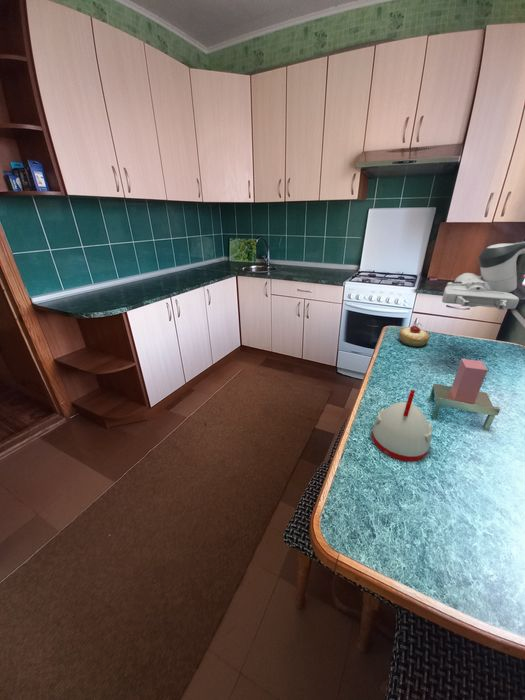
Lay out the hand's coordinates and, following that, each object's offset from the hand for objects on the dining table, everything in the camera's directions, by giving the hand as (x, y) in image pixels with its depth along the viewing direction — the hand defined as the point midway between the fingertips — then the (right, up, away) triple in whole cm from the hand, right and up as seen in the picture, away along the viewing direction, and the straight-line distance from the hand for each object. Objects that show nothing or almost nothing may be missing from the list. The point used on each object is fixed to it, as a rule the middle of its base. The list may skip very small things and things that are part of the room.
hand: (483, 305), depth 88 cm
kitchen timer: (-31, -38, -11) cm, 50 cm away
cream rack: (-9, -33, -2) cm, 34 cm away
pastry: (-1, -10, +41) cm, 42 cm away
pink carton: (-10, -27, -4) cm, 29 cm away
